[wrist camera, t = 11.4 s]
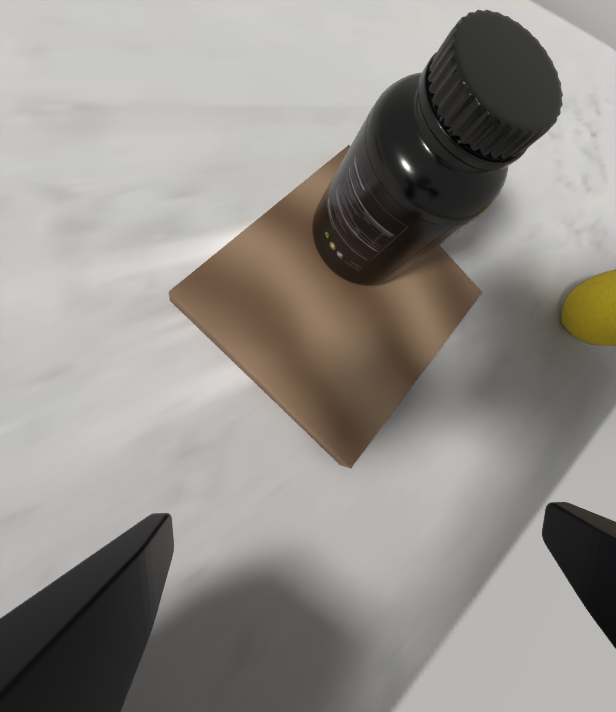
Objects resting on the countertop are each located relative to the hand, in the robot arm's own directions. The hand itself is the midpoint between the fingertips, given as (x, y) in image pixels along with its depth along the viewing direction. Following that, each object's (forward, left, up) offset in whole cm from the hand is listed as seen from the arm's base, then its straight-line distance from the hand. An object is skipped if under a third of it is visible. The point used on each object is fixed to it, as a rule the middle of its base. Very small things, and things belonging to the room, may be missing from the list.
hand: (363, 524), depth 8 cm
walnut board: (+11, +3, -13) cm, 17 cm away
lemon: (+25, -12, -13) cm, 31 cm away
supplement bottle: (+14, +5, -11) cm, 19 cm away
